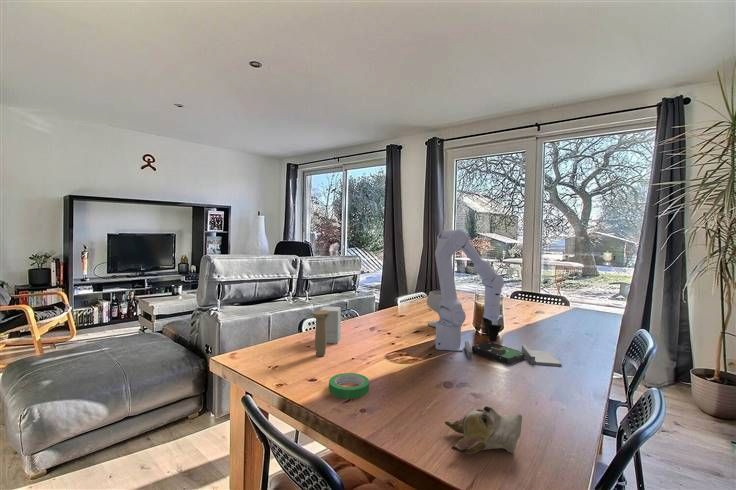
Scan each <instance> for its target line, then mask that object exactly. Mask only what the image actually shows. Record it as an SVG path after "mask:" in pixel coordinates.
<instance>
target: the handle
mask: <svg viewBox="0 0 736 490" xmlns="http://www.w3.org/2000/svg"><path fill="white" fill-rule="evenodd" d="M311 316H312V318H314V319H315V335H314V345H315V346H314V347H315V355H316V356H317V357H324V356H325V355H326V350H327V343H326V342H327V337H326V318H327V317H328V316H330V311H327V310H321V309H319V310H315V311H312V312H311Z"/></svg>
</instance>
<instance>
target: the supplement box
mask: <svg viewBox="0 0 736 490" xmlns="http://www.w3.org/2000/svg"><path fill="white" fill-rule="evenodd" d="M320 310H327V311H330V316H328V317H327V318H326V337H327V342H326V344H336V343H337V344H338V343H339V342H340V340H341V338H342V337H341V336H342V335H341V334H342V333H341V332H342V331H341V329H342V326H341V325H342V323H341V319H342V318H341V316H342V314H341V313H342V312H341V310H342V308H341V307H340V306H323V307H322V308H321V309H320Z"/></svg>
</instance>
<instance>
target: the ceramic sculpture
mask: <svg viewBox="0 0 736 490" xmlns="http://www.w3.org/2000/svg"><path fill="white" fill-rule="evenodd" d="M522 423H523V415H522V414H521V413H519V414H513V413H509V414H505V415H500V414H499V413H498V411H497V410H496V409H493V408H492V407H490V406H484V408H483V409H472V410H469V412H467V413H466V414H465V415H464V417H463V418H461V419H460V420H456V421H453V422H451V421H447V420H446V421H444V424H445V425H446V426H447V427H449V428H451V430H453V431H454V432H457V433H459V434H462V435H463V437H462V438H460V439H459V440H458V442H456V444H454V445H452V446H451V447H450V449H451V450H453V451H456V452H459V453H462V454H466V455H474V454H476V453H478V452H481V451H484V450H493V449H504V450H506V452H508V453H511V454H513V453H514V452H515V451H516V447H517V443H518V440H519V439H520V438H521V433H522Z"/></svg>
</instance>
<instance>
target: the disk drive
mask: <svg viewBox="0 0 736 490" xmlns="http://www.w3.org/2000/svg"><path fill="white" fill-rule="evenodd" d="M471 350H472V354H475V355H478V356H481V357H484V358H487V359H490V360H493V361H496V362H497V363H498V362H499V363H500V364H504V365H506V366H510V365H512V364H516V363H517V362H521V361H523V360H525V359H526V357H525V354H524V353H523V352H522V351H520V350H517V349H514V348H510V347H508V346H505V345H501V344H498V343H495V342H490V341H485V342H483V343H478V345H476V344H475V345H472V346H471Z"/></svg>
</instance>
